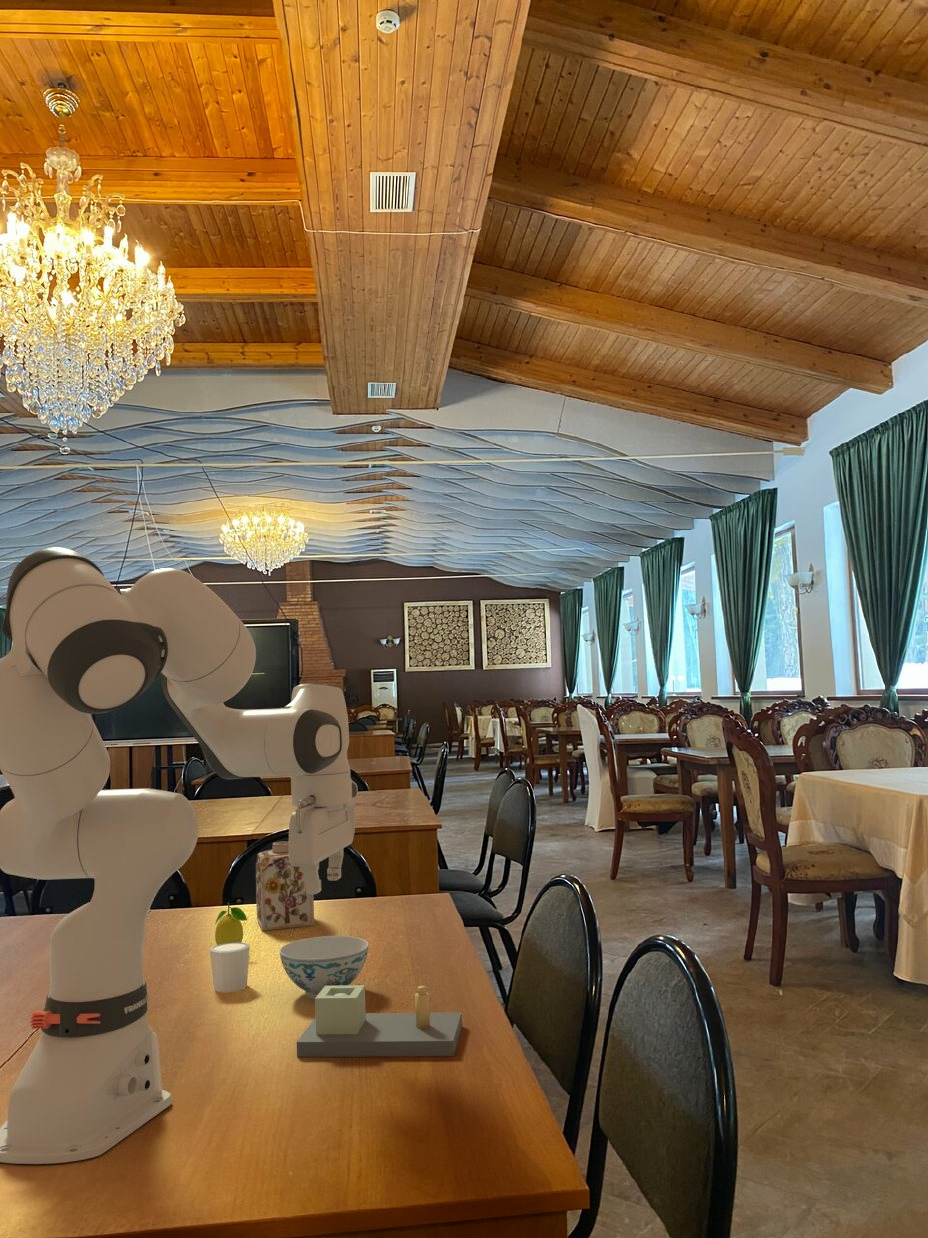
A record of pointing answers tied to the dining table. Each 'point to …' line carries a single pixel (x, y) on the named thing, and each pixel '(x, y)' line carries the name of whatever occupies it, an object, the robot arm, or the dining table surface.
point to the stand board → (389, 1034)
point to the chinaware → (324, 962)
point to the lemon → (230, 926)
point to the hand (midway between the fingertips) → (324, 886)
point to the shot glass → (230, 966)
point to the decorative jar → (281, 891)
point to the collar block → (340, 1009)
